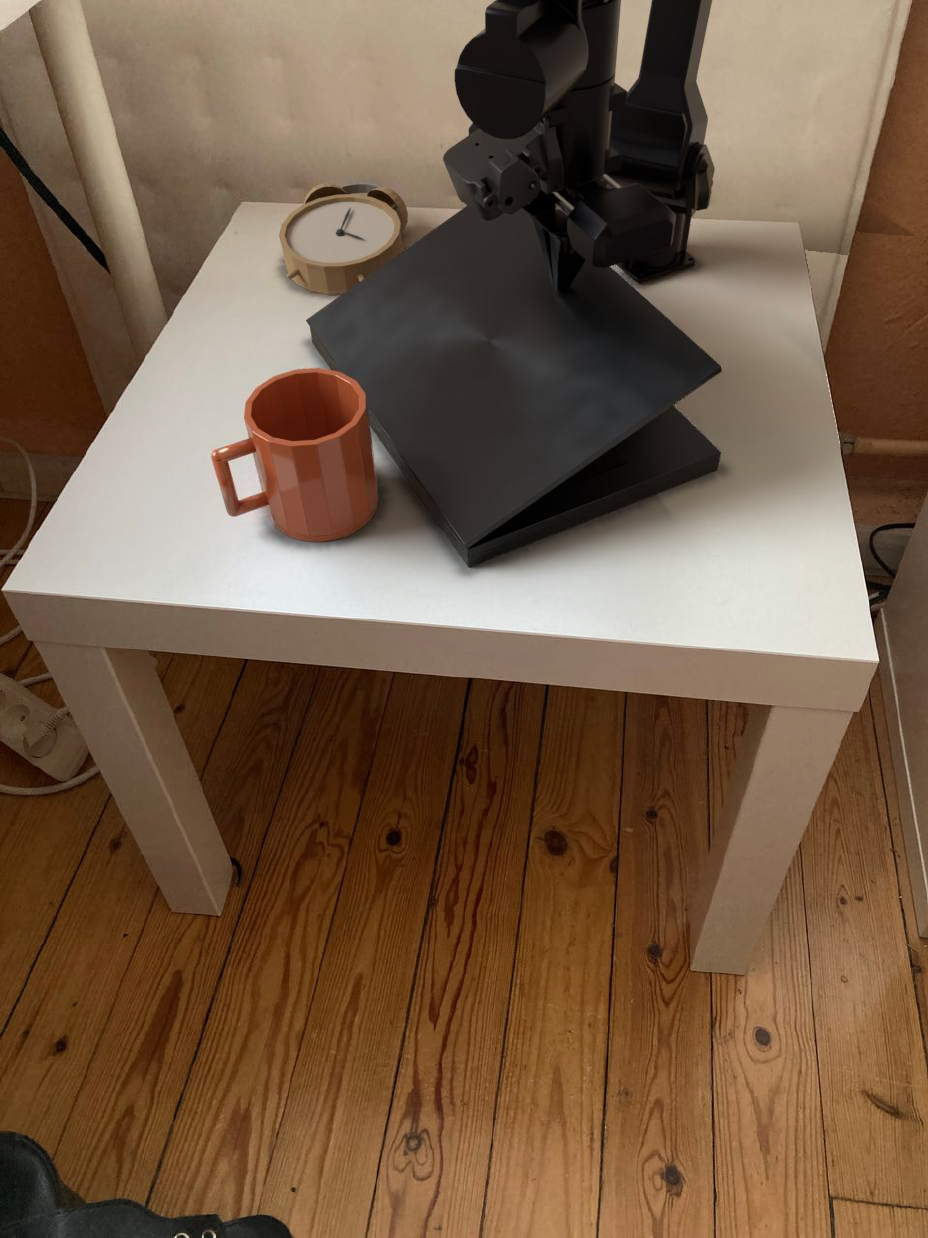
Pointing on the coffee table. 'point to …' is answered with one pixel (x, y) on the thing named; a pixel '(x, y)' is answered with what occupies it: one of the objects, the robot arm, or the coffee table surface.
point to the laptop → (583, 481)
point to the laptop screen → (503, 365)
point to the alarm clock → (342, 235)
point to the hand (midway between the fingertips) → (560, 287)
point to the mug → (306, 455)
